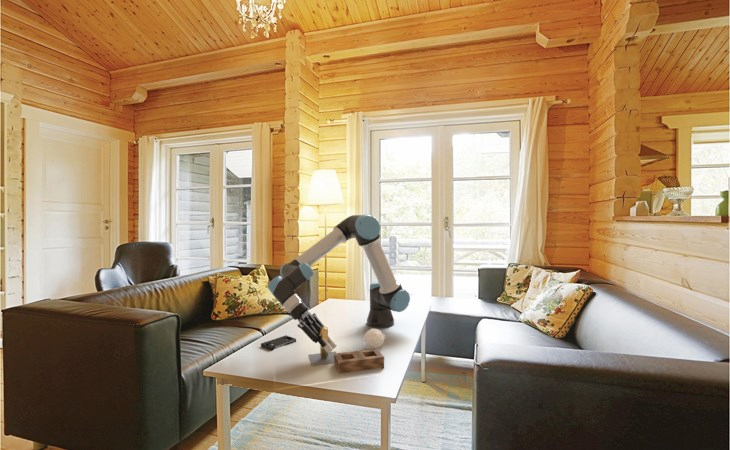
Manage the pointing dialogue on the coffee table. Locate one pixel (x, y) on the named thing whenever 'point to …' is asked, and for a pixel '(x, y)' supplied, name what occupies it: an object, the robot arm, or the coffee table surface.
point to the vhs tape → (278, 342)
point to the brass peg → (325, 335)
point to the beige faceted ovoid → (374, 338)
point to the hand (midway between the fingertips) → (332, 349)
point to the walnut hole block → (358, 360)
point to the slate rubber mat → (321, 359)
